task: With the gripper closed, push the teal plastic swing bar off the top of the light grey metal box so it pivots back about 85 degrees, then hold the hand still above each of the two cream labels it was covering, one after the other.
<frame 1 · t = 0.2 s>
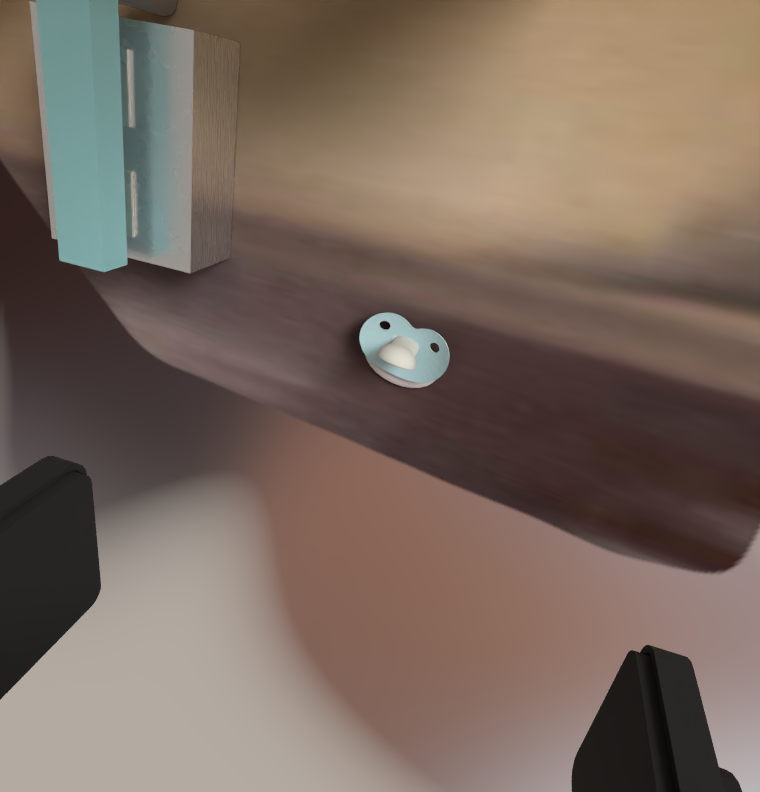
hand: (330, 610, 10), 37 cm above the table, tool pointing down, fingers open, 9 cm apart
pacifier: (406, 349, 48), on the table
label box: (165, 143, 46), on the table
swing bar: (117, 120, 40), point 6 cm above the table, hinge at 0.0°
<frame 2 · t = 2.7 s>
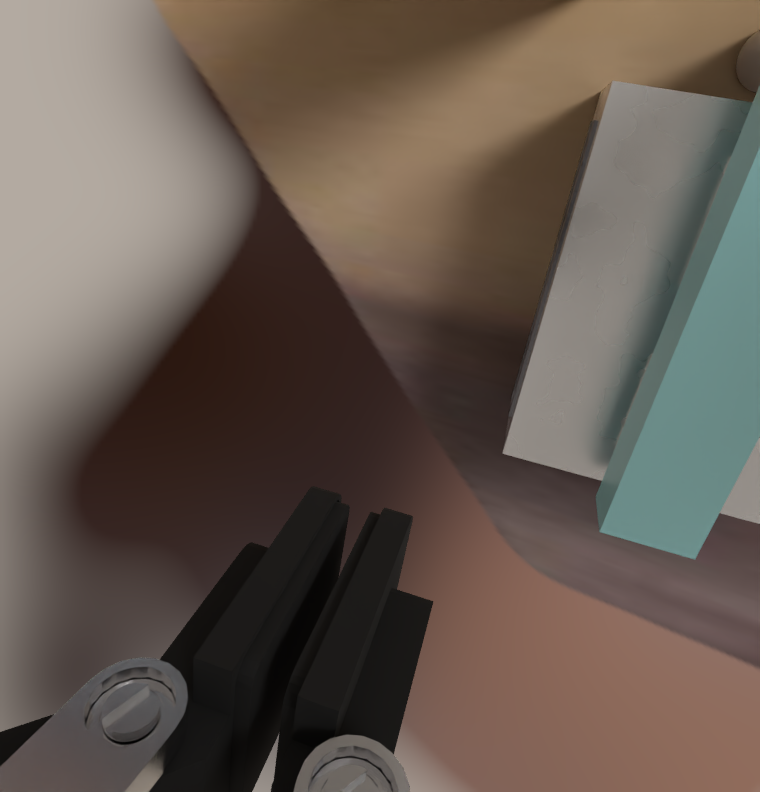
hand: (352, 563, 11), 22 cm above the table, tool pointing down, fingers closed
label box: (675, 291, 28), on the table
swing bar: (718, 287, 22), point 6 cm above the table, hinge at 0.0°
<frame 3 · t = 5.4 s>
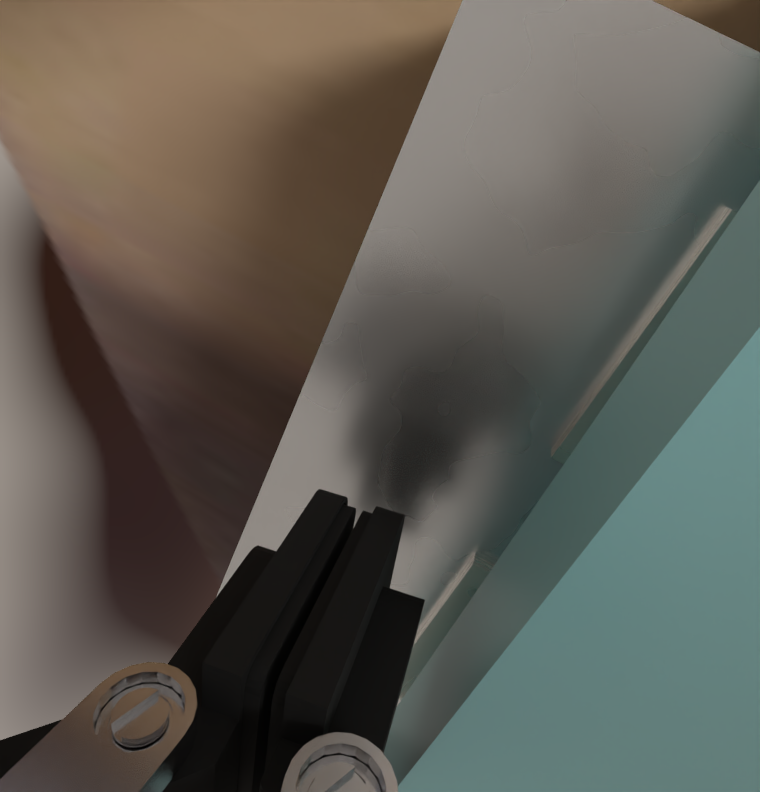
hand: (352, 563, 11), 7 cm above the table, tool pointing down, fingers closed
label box: (572, 408, 16), on the table
swing bar: (640, 478, 10), point 6 cm above the table, hinge at 2.2°, touching gripper
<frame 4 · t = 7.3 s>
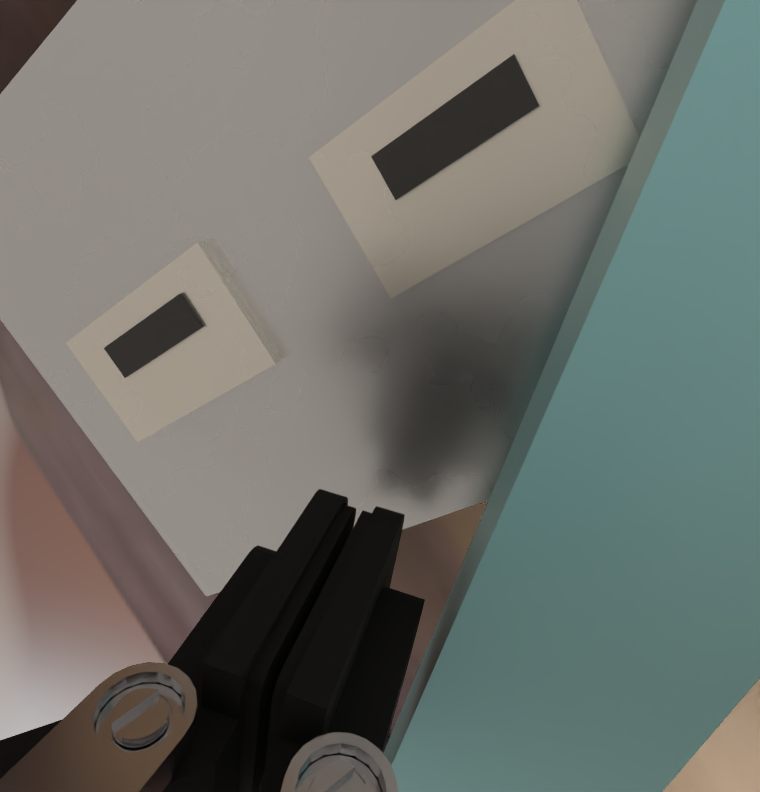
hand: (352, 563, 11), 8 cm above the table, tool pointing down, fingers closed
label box: (387, 225, 16), on the table
swing bar: (617, 426, 11), point 6 cm above the table, hinge at 43.4°, touching gripper
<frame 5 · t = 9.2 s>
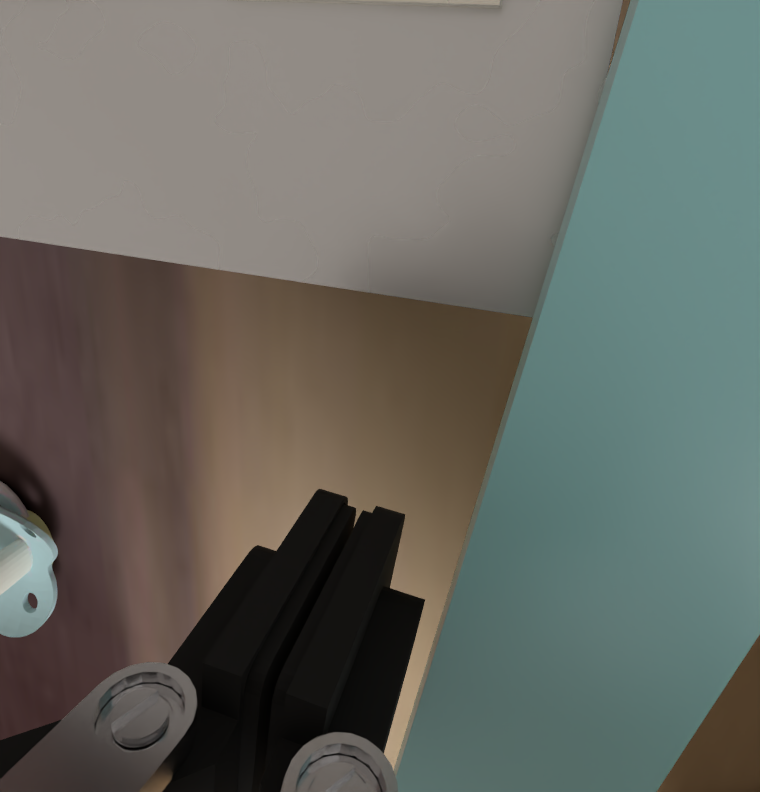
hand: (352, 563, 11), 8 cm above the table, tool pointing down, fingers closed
pacifier: (25, 531, 27), on the table
swing bar: (595, 430, 11), point 6 cm above the table, hinge at 84.1°, touching gripper
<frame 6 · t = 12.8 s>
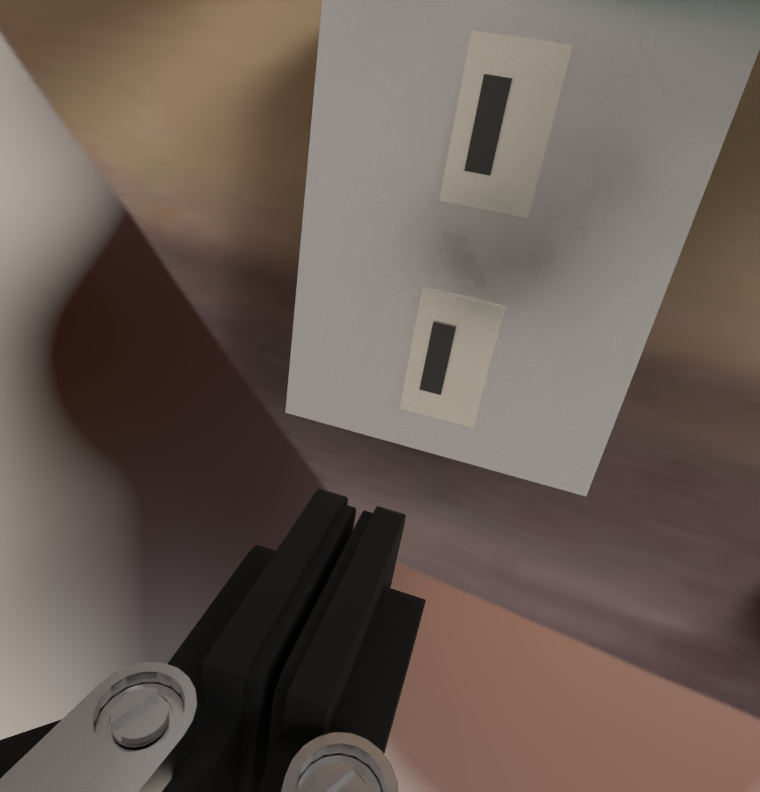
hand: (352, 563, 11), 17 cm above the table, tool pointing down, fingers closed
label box: (491, 226, 24), on the table
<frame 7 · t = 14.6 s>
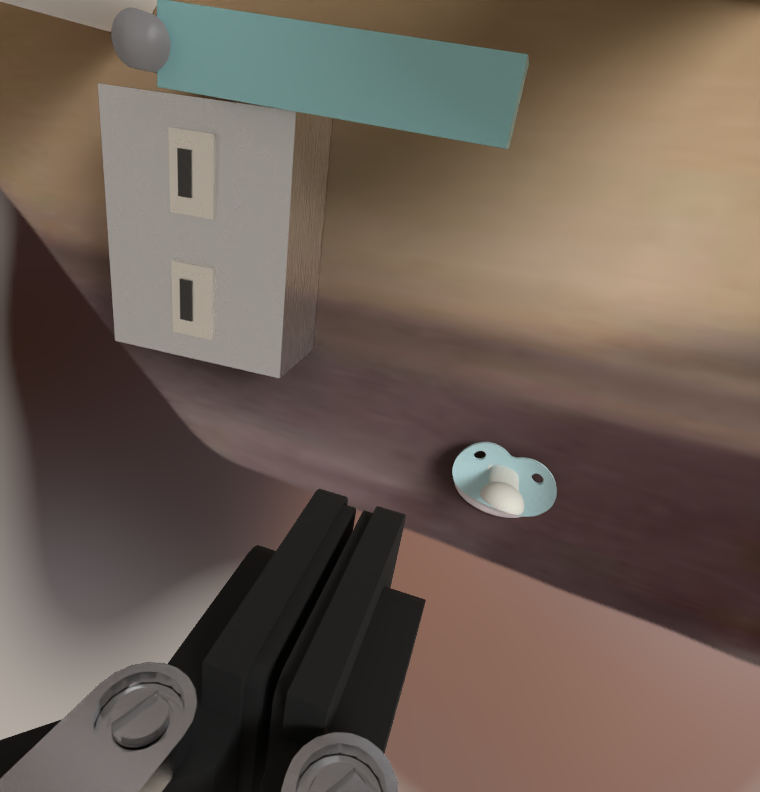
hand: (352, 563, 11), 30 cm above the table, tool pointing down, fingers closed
pacifier: (500, 475, 43), on the table
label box: (240, 228, 40), on the table
swing bar: (339, 79, 30), point 6 cm above the table, hinge at 88.2°
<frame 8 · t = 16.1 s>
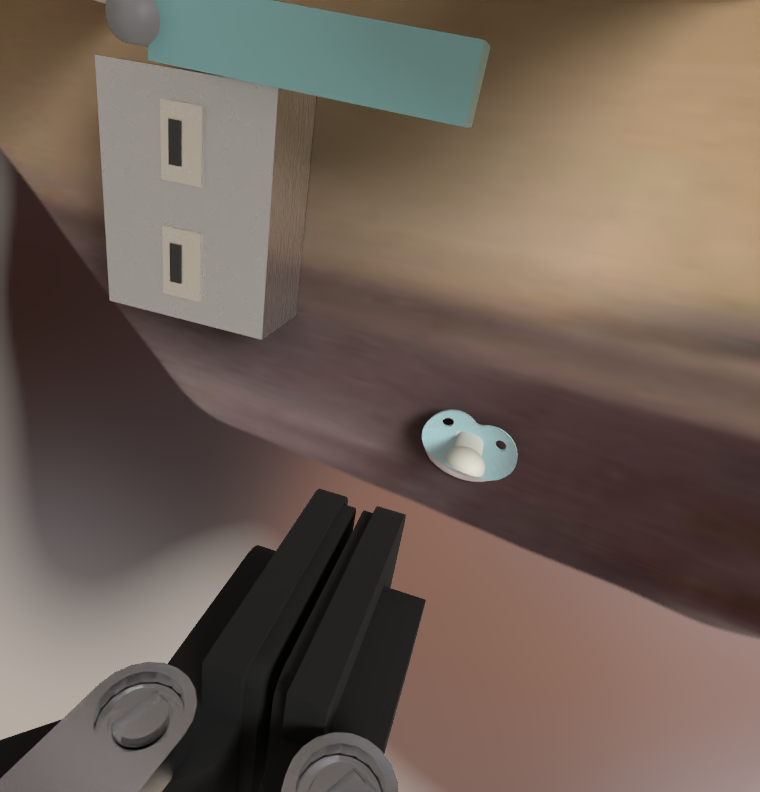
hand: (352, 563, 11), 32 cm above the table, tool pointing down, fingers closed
pacifier: (468, 442, 46), on the table
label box: (229, 197, 42), on the table
swing bar: (319, 57, 32), point 6 cm above the table, hinge at 88.2°
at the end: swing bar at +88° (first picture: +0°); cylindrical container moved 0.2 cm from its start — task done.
